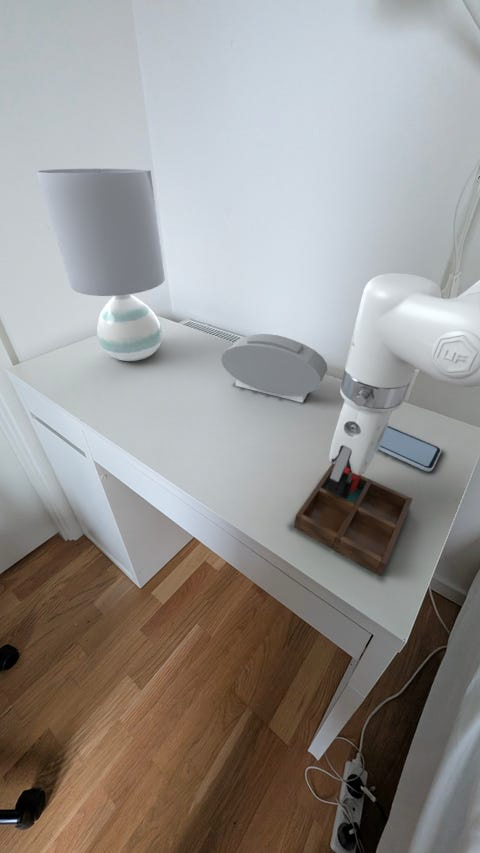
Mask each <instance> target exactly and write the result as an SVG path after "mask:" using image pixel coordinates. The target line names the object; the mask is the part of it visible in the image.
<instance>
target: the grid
mask: <svg viewBox="0 0 480 853" xmlns="http://www.w3.org/2000/svg"><path fill="white" fill-rule="evenodd" d="M334 464H335V462H334V463H331V465H330V466H329V468H328V469H327V471H326V472H325V473H324V475H323V476H322V478H321V479H320V480H319V482H318V483H317V484H316V486H315V487H314V489H313V490H312V492H311V493H310V494H309V496H308V497H307V499H306V500H305V502H304V503H303V505H302V506H301V507H300V509H299V511H298V512H297V513H296V515H295V519H294V526H293V528H294V529H296V530H298V531H300V532H301V533H303V534H305V535H306V536H308V537H310V538H312V539H314V540H315V541H316V542H319V543H321V544H322V545H324V546H326V547H327V548H329V549H331V550H333V551H334V552H337V553H338V554H340V555H341V556H344V557H345V558H347V559H349V560H350V561H352V562H354V563H355V564H357V565H359V566H361V567H363V568H364V569H366V570H368V571H370V572H371V573H373V574H375V575H376V576H378V577H381V575H382V574H383V571H384V570H385V568H386V567H387V564H388V562H389V559H390V557H391V554H392V552H393V549H394V547H395V544H396V542H397V539H398V537H399V533H400V532H401V529H402V527H403V524H404V521H405V520H406V517H407V514H408V512H409V509H410V507H411V504H412V502H413V498H412V497H410V496H408V495H406V494H403V493H401V492H399V491H397V490H395V489H393V488H390V487H388V486H386V485H383V484H381V483H379V482H377V481H374V480H372V479H371V478H368V477H366V476H363V475H360V478H359V481H358V484H357V487H356V489H355V491H354V492H352V493H349V496H348V498H347V499H345V498H343V497H341V496H339V495H337V494H335V493H333V492H331V491H329V490H328V489H327V488H328V484H329V480H330V476H331V473H332V470H333V467H334Z"/></svg>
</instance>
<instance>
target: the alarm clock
mask: <svg viewBox="0 0 480 853" xmlns="http://www.w3.org/2000/svg"><path fill="white" fill-rule="evenodd" d="M220 362H221V364H222V367H223V368H224V370H225V371H226V372H227V373H228V374H229V375H230V376H232V377H233V378H234V379H236V380H235V384H234V386H236V387H240V388H243V389H247V390H251V391H255V392H259V393H263V394H267V395H271V396H274V397H279V398H283V399H287V400H290V401H295V402H299V403H304V401H305V399H306V398H307V396H308V394H309V393H312V392H314V391H316V390H317V389H318V388H319V387H320V385H321V384H322V381H323V379H324V378H325V375H326V374H327V372H328V364H327V362H326V360H325V358H324V357H323V356H322V355H321V354H320V353H319V352H318V351H316V350H315V349H313V348H311V347H310V346H309V345H306V344H304V343H302V342H299V341H296V340H294V339H292V338H288V337H286V336H282V335H279V334H278V335H277V334H271V333H270V334H269V333H259V334H258V333H257V334H251V335H246V336H243V337H241V338H239V339H237V340H236V341H235V342H234V343H233V344H232V345H230V347H228V348H227V349H226V350H225V352H223V353H222V354H221V359H220Z"/></svg>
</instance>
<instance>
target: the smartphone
mask: <svg viewBox="0 0 480 853" xmlns="http://www.w3.org/2000/svg"><path fill="white" fill-rule="evenodd" d="M378 450H379V451H381V452H383V453H385V454H388V455H389V456H391V457H393V458H396V459H398V460H400V461H402V462H405V463H407V464H409V465H411V466H413V467H416V468H418V469H420V470H422V471H424V472H428V473H429V472H432V471H433V469H434V468H435V465H436V463H437V461H438V459H439V457H440V455H441V453H442V449H441V447H439V446H438V445H435V444H433V443H431V442H429V441H427V440H424V439H422V438H420V437H417V436H415V435H412V434H410V433H407V432H405V431H403V430H401V429H398V428H395V427H393V426H390V425H389V424H388V425H387V429H386V432H385V435H384V438H383V441H382V443H381V445H380V447H379V449H378Z"/></svg>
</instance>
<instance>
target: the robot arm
mask: <svg viewBox="0 0 480 853" xmlns="http://www.w3.org/2000/svg"><path fill="white" fill-rule="evenodd" d="M442 295H443V294H442V289H441V287H440V286H439V285H438V284H437V283H436V282H434V280H431V279H429V278H427V277H424V276H421V275H418V274H417V275H416V274H411V273H399V272H390V273H383V274H379V275H376V276H374V277H373V278H371V279H370V280H369V281H368V282H367V283H366V284H365V287H364V288H363V292H362V295H361V299H360V303H359V306H358V311H357V315H356V319H355V323H354V324H355V325H354V328H353V333H352V337H351V342H350V346H349V350H348V354H347V358H346V363H345V366H344V370H343V372H344V373H343V375H342V380H341V385H340V389H339V390H340V391H339V392H340V395H341V398H342V399H344V402H343V405H342V408H341V411H340V413H339V416H338V420H337V424H336V427H335V430H334V434H333V438H332V441H331V445H330V450H329V455H328V460H329V462H330V464H332V463H334V467H333V470H332V473H331V476H330V480H329V484H328V488H327V489H328V490H329V491H331V492H333V493H335V494H337V495H339V496H341V497H343V498H345V499H347V498H348V496H349V493H350V490H351V487H352V484H353V481H354V479H352V477H353V474H357V475H361V476H363V475H364V474H365V472H366V471H367V470H368V468H369V466H370V465H371V463H372V461H373V459H374V457H375V456H376V454H377V452H378V450H379V447H380V445H381V443H382V441H383V438H384V435H385V432H386V429H387V425H389V422H390V419H391V417H392V413H393V412H395V410H398V409H400V408H401V406H402V405H403V402H404V401H405V398H406V396H407V392H408V389H409V387H410V385H411V382H412V379H413V376H414V373H415V371H416V369H417V370H419V371H421V372H422V373H424V374H426V375H427V376H429V377H431V378H433V379H434V380H437V381H438V382H441V383H444V384H446V385H449V386H453V387H458V388H459V387H461V388H473V387H479V386H480V279H479V280H477V281H476V282H475V283H474V284H473V285H471V286H470V287H469V288H467V289H466V290H465V291H464V292H462V293H461V294H459V295H458V296H456V297H451V298H443V297H442ZM346 467H347V468H349V469H350V471H349V473H348V474H347V473H345V472H344V471H345V469H346Z"/></svg>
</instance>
